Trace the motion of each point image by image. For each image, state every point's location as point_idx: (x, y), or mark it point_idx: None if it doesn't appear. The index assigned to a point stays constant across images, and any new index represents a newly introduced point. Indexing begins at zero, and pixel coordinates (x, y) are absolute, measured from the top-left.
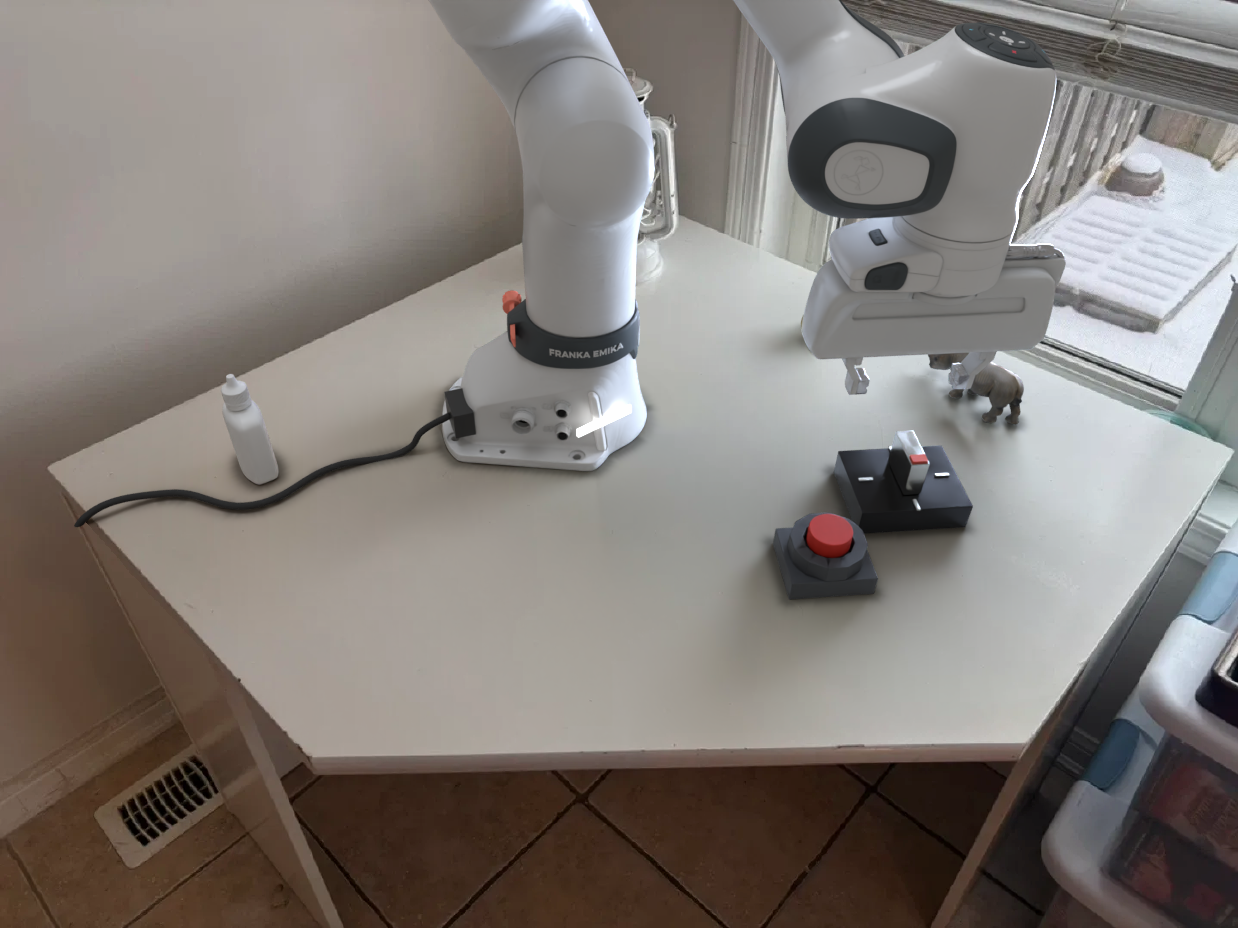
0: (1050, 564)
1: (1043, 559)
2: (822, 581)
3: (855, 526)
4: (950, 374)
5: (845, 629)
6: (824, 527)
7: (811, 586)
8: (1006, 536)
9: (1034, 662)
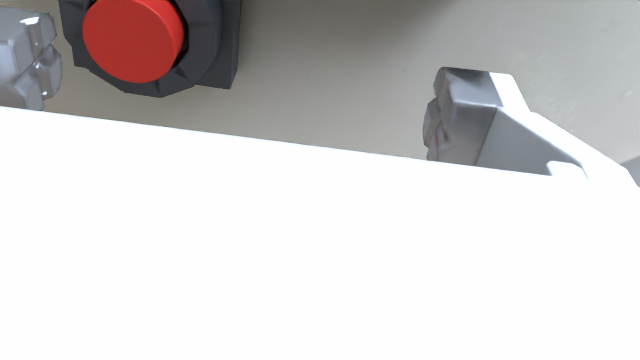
0: (569, 84)
1: (567, 72)
2: None
3: (203, 9)
4: (444, 85)
5: (171, 116)
6: (114, 35)
7: None
8: (548, 7)
9: None
